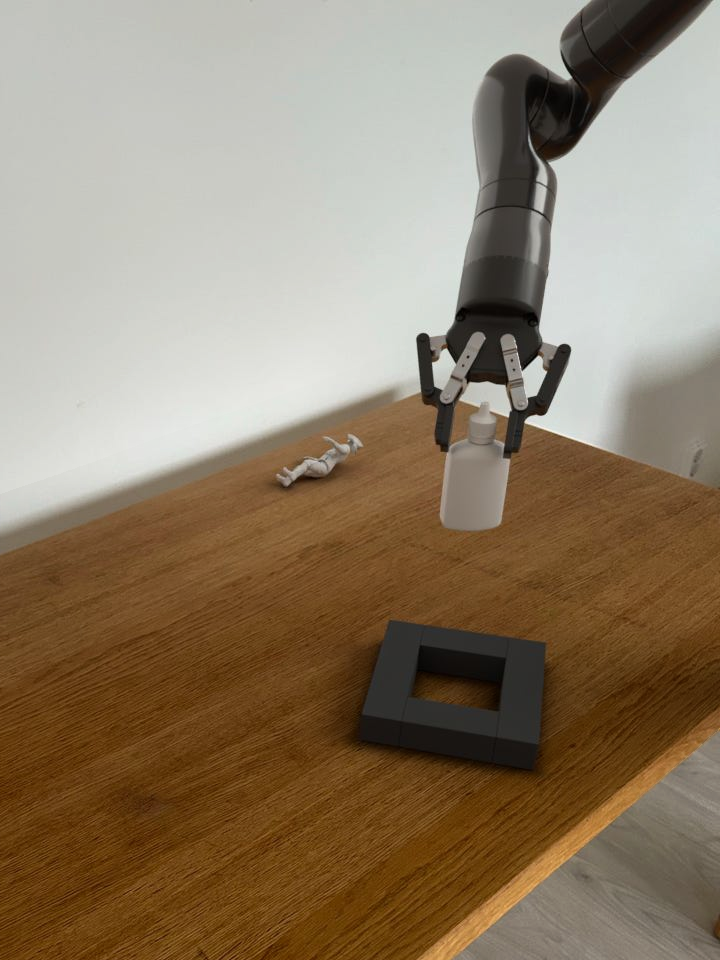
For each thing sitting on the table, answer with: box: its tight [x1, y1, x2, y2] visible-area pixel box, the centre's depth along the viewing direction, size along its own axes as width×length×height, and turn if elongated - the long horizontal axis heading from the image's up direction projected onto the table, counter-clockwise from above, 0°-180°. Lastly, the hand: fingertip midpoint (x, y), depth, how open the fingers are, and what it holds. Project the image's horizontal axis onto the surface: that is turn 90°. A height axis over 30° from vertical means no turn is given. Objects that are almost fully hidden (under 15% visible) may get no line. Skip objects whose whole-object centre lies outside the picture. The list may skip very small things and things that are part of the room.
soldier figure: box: [275, 433, 364, 488], centre depth 131 cm, size 8×5×12 cm
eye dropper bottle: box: [439, 401, 511, 532], centre depth 92 cm, size 4×6×12 cm
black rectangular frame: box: [359, 619, 547, 771], centre depth 93 cm, size 15×15×3 cm
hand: (475, 451), depth 90 cm, fingers closed on eye dropper bottle, 5 cm apart
